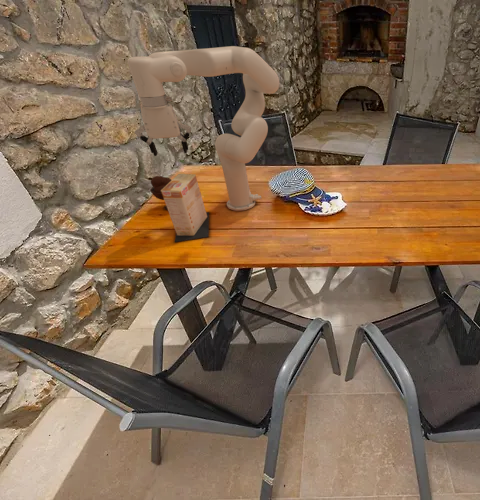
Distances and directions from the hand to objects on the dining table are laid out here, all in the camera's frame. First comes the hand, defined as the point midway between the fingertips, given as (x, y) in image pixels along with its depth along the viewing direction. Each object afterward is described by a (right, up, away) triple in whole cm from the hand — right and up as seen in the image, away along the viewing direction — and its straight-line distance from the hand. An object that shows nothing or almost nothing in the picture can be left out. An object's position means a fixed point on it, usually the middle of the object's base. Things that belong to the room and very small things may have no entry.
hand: (171, 153), depth 113 cm
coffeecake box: (-1, -25, +17) cm, 30 cm away
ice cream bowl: (-17, -15, +30) cm, 37 cm away
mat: (-1, -25, +17) cm, 30 cm away
